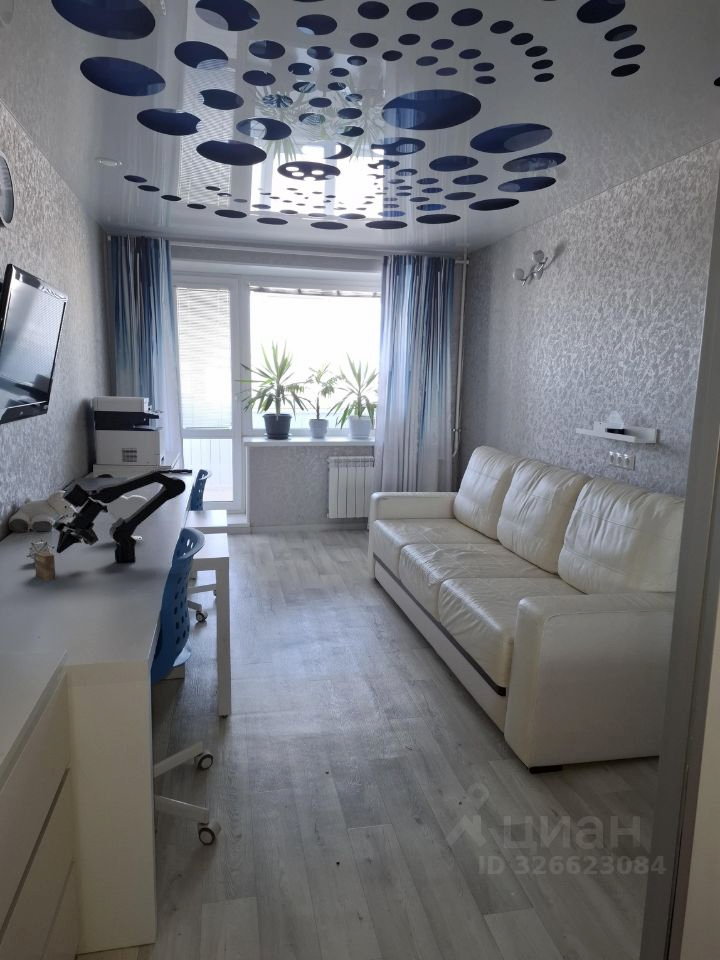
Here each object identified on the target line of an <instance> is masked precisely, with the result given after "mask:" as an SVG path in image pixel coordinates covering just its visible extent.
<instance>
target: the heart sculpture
mask: <svg viewBox="0 0 720 960" xmlns="http://www.w3.org/2000/svg"><path fill="white" fill-rule="evenodd" d="M147 502H148V499H147V498H146V497H145V496H141V495H139V494H138V495H137V494H132V495H130V496H128V497H126V496H125V495H122V496H121V497H119V498H118V499H116V500H114V501H113V502H111V503H107V504H106V505H107V509H108V514H109V515H110V516H111V518H112V519H113V520H115V522H116V521H117V520H118V519H119V518H120V517H121V518H122V519H127V518H129V517H130V516H131V515H132V514H134V513H135V512H136V511H137V510H138V509H139V508H141V507H142V506H143V505H144V504H145V503H147ZM131 536H132V537H133V538H134V539H137V540H143V539H142V537H141V536H142V535H131ZM139 538H141V539H139Z"/></svg>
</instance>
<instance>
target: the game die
mask: <svg viewBox="0 0 720 960" xmlns="http://www.w3.org/2000/svg"><path fill="white" fill-rule="evenodd" d="M30 544H31V547H29V548H28V549H29V550H30V551H29V554H28V555H26V558H31V559H32V560H33V562H34V563H35V553H38V552H42V551H44V552H47V553H50V554H52V551H53V549H55V546H51V545H49V544H48V542H47V541H46V542H45V541H43V539H42V538H41V539H40V541H38V542H35V543H34V542H31V543H30Z"/></svg>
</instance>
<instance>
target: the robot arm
mask: <svg viewBox="0 0 720 960" xmlns="http://www.w3.org/2000/svg"><path fill="white" fill-rule="evenodd" d="M155 483H157V484H159V485H162V486H161V488H160V489H159V491H158V492H157V493H156V494H155V495H153V496H152V497H151V498H150V499H149V500H147V503H145V504H144V505H143V506H142V507H141V508H139V509H138V510H137V511H136V512H135V513H134V514H132V515H131V516H130V517H129V518H127V519H122V518H121V517H120V518H119V519H118V520H117V521H116V520H115V522H114V523H111V527H110V528H109V533H108V534H109V536H110V538H111V539H114V540H115V541H114V542H116V545H115V546H116V547H115V548H114V562H116V563H115V564H127V563H128V564H129V563H136V561H137V558H136V557H137V556H136V544H137V540H135V539H134V538H133V537H132V536H133V534H134V533H135V531H136V529H137V528H138V526H139V525H141V524H142V523H143V522H144V521H146V520H147V519H148V518H149V517H150V516H151V515H153V514H154V513H155V512H156V511H157V510H158V509H160V508H161V507H162V506H163V505H164V504H165V503H166V502H167V501H169V500H172V499H175V498H177V497H179V496H180V495H181V494H183V493H184V492H185V491H186V488H187V486H186V482H185V481H184V480H183V479H180V478H179V477H176V476H172V477H169V476H168V475H165V474H162V473H161V472H160V471H158V470H151V471H149V472H147V473H144V474H141V475H138V476H136V477H132V478H130V479H127V480H125V481H121V482H116V483H108V484H103V485H99V486H98V487H97V488H96V489H92V490H88V491H87V490H86V489H84V488H83V487H81V486H80V484H78V483H77V482H75V483H74V484H73V485H71V486H70V487H69V488H67V489H66V490H65V492H64V493H63V494H62V497H61V498H62V499H63V500H64V501H66V502H67V503H68V504H70V505H72V507H74V508H81V509H80V510H79V511H78V512H74V514H73V515H74V518H73V519H72V520H71V522H69V521H68V522H62V521H55V522H54V523H53V525H52V527H51V528H53V529H54V530H56V531H57V532H59V535H58V541H57V547H56V550H55V552H56V553H57V554H61V553H63V551H65V550H67V549H68V548H70V547H71V546H72V545H74V544H79V543H80V544H81V543H82V542H83V543H84V544H85V545H90V546H93V545H94V544H95V543H97V542H98V541H99V539H100V538H98V535H97V534H96V532H95V531H94V529H93V527H94V526H95V523H94V521H95V520H96V518H97V517H98V516H99V514H100V513H103V514H109V512H108V508H107V505H108V503H111V502H113V501H114V500H116V499H118V498H119V497H121V496H124V495H125V494H127V493H129V492H132V491H135V490H138V489H141V488H144V487H146V486H149V485H152V484H155ZM100 502H101V503H100ZM102 503H103V504H104V505H103V504H102ZM82 540H83V541H82Z"/></svg>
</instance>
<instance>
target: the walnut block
mask: <svg viewBox="0 0 720 960" xmlns="http://www.w3.org/2000/svg"><path fill="white" fill-rule="evenodd" d="M34 567H35V576H36V577H37V578H40V579H42V578H43V579H42V580H45V581H49V579H50V580H53V578H54V579H56V564H55V554H53V553H51V554H50V553H47V552H44V551H42V552H38V553H35V562H34Z"/></svg>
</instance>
